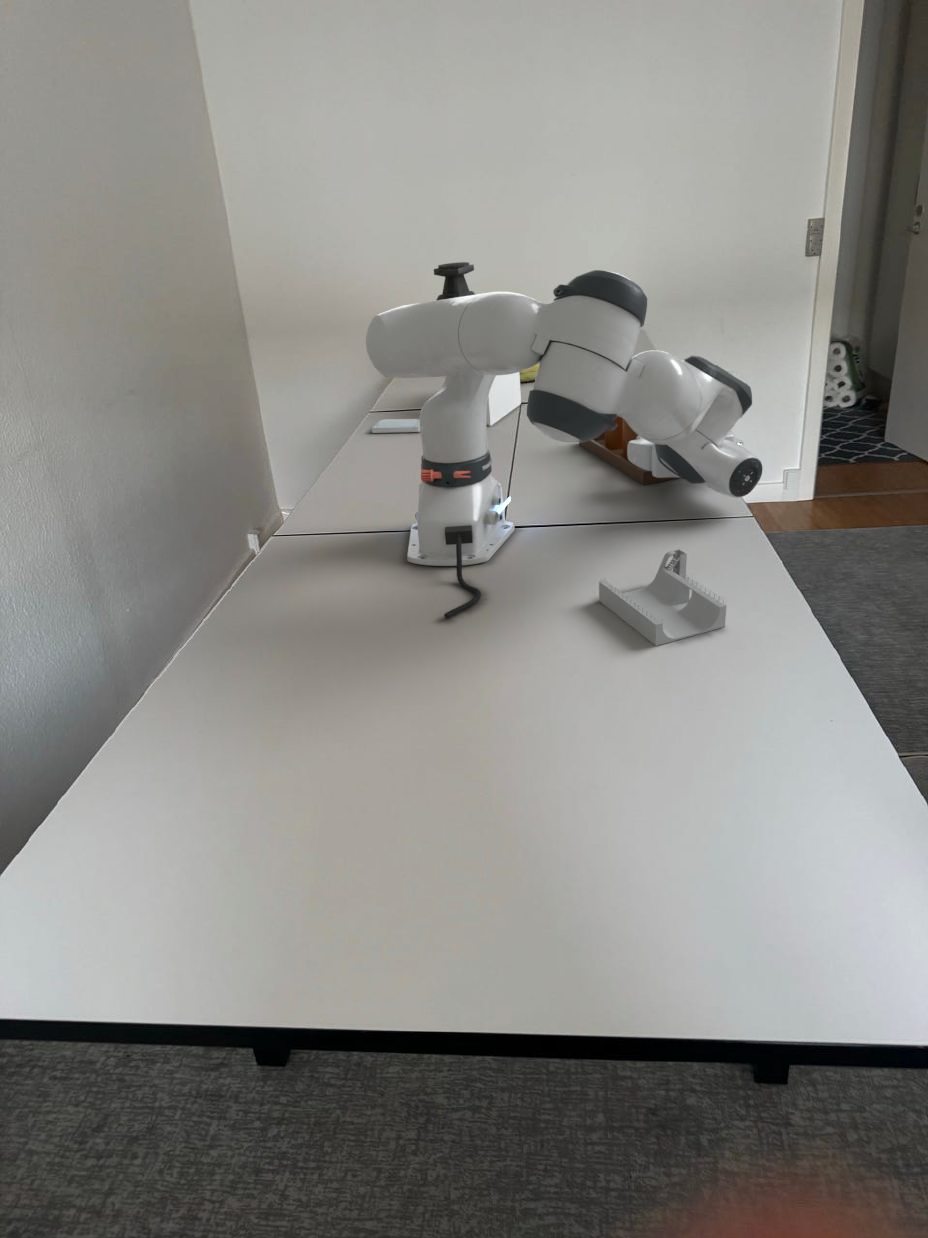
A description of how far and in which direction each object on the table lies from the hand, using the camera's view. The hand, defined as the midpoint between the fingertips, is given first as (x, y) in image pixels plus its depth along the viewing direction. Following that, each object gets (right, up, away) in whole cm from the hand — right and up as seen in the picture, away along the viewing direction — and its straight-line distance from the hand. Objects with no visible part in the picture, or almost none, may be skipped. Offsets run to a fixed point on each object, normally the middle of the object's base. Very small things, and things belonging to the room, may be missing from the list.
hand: (661, 435), depth 165 cm
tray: (-2, -2, +13) cm, 13 cm away
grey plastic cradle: (-11, -35, -48) cm, 61 cm away
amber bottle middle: (-2, -2, +13) cm, 13 cm away
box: (-33, +22, +64) cm, 75 cm away
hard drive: (-55, +13, +51) cm, 76 cm away
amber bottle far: (-5, +2, +20) cm, 21 cm away
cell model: (-21, +36, +89) cm, 98 cm away
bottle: (-40, +59, +136) cm, 154 cm away
